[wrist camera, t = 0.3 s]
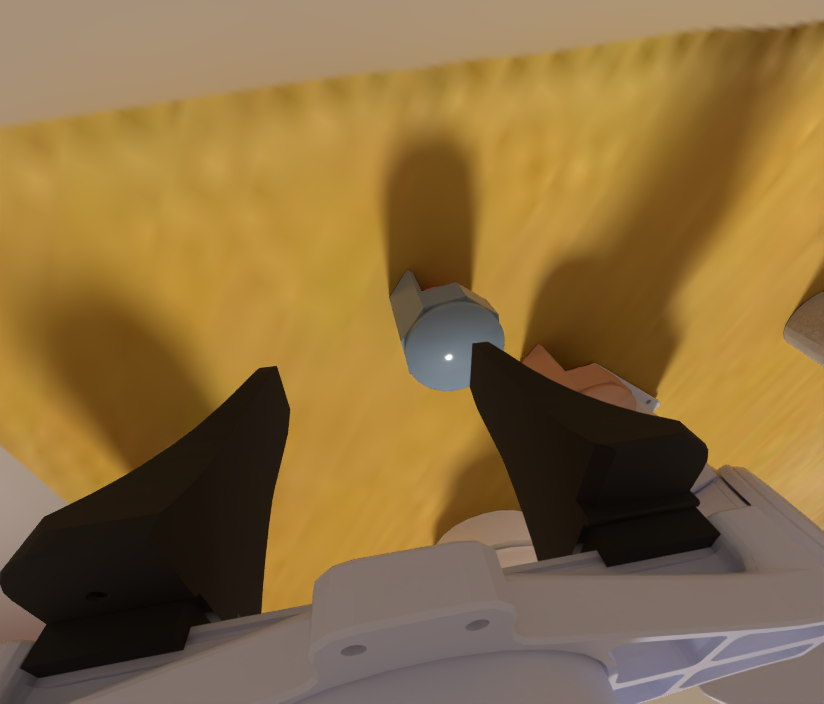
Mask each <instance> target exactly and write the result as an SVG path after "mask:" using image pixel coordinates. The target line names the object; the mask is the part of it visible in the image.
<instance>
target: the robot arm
mask: <svg viewBox="0 0 824 704" xmlns="http://www.w3.org/2000/svg"><path fill="white" fill-rule="evenodd" d="M592 364H594V363H592ZM595 364H596V363H595ZM596 365H598V364H596ZM598 366H600V365H598ZM600 367H601V368H603V367H602V366H600ZM603 369H605V368H603ZM605 370H606V371H608V370H607V369H605ZM608 372H610V371H608ZM610 373H612V372H610ZM612 374H613V373H612ZM613 375H615V374H613ZM615 376H616V377H617V378H618V379H619V380H620V381H621V382H622V383H623V384H625V385H626V386H627V387H628V388H629V389H630V390H631V391H632V395H633V396H634V397H635V399H636V403H637V408H636V411H633V410H630V409H626V408H623V407H619V406H616V405H613V404H610V403H606V402H603V401H601V400H598V399H595V398H592V397H590V396H587V395H584V394H582V393H579V392H577V391H574V390H572V389H570V388H568V387H566V386H563V385H561V384H559V383H557V382H555V381H553V380H551V379H549V378H547V377H545V376H543V375H542V374H540V373H538V372H536V371H534V370H533V369H531V368H529V367H528V366H526V365H524V364H523V363H521V362H520V361H518V360H516V359H515V358H513V357H512V356H510V355H509V354H507V353H506V352H504V351H502V350H501V349H499V348H498V347H496V346H495V345H493V344H491V343H490V342H479V343H472V357H471V373H470V389H471V392H472V395H473V398H474V401H475V404H476V406H477V409H478V411H479V413H480V415H481V417H482V419H483V421H484V423H485V425H486V427H487V429H488V431H489V433H490V435H491V437H492V439H493V441H494V443H495V445H496V447H497V449H498V451H499V453H500V455H501V457H502V459H503V461H504V464H505V466H506V469H507V471H508V474H509V477H510V479H511V482H512V485H513V487H514V490H515V493H516V496H517V499H518V501H519V504H520V507H521V510H522V513H523V516H524V519H525V522H526V525H527V528H528V531H529V534H530V537H531V540H532V544H533V547H534V550H535V554H536V557H537V560H538V561H537V562H532V563H527V564H521V565H516V566H511V567H505V568H501V565H500V563H499V560H498V557H497V554H496V551H495V549H494V548H492V547H490V546H488V545H485V544H483V543H481V542H478V541H454V542H448V543H442V544H437V545H431V546H426V547H420V548H414V549H409V550H403V551H397V552H392V553H386V554H381V555H375V556H369V557H364V558H358V559H353V560H350V561H347V562H344V563H341V564H338V565H335V566H332V567H331V568H330V569H329V570H328V571H326V572H325V573H324V574H323V575H321V576H320V577H319V578H318V579H317V580H316V581H315V584H314V591H313V601H312V604H309V605H304V606H299V607H294V608H288V609H283V610H278V611H272V612H267V613H262V614H261V608H262V592H263V580H264V569H265V557H266V548H267V539H268V529H269V521H270V514H271V506H272V499H273V494H274V489H275V485H276V481H277V477H278V473H279V469H280V465H281V461H282V456H283V452H284V448H285V444H286V440H287V435H288V428H289V417H290V407H289V404H288V401H287V398H286V394H285V391H284V388H283V384H282V381H281V378H280V375H279V371H278V368H277V366H273V367H264V368H259V369H258V370H257V371H255V372H254V373H253V374H252V375H251V376H250V377H249V378H248V379H247V380H246V381H245V382H244V383H243V384H242V385H241V386H240V387H239V388H238V389H237V390H236V391H235V392H234V393H233V394H232V395H231V396H230V397H229V398H228V399H227V400H226V401H225V402H224V403H223V404H222V405H221V406H220V407H219V408H217V409H216V410H215V411H214V412H213V413H212V414H211V415H210V416H208V417H207V418H206V419H205V420H204V421H203V422H202V423H201V424H199V425H198V426H197V427H196V428H194V429H193V430H192V431H191V432H189V433H188V434H187V435H185V436H184V437H183V438H181V439H180V440H179V441H177V442H176V443H175V444H173V445H172V446H170V447H169V448H167V449H166V450H164V451H163V452H161V453H160V454H158V455H157V456H155V457H154V458H152V459H151V460H149V461H148V462H146V463H145V464H143V465H142V466H140V467H138V468H137V469H135V470H133V471H132V472H130V473H128V474H126V475H125V476H123V477H121V478H120V479H118V480H116V481H114V482H112V483H110V484H109V485H107V486H105V487H103V488H101V489H99V490H98V491H96V492H94V493H92V494H90V495H88V496H86V497H84V498H82V499H80V500H78V501H76V502H74V503H72V504H70V505H68V506H66V507H64V508H62V509H60V510H58V511H55V512H53V513H51V514H49V515H47V516H45V517H44V518H43V519H42V520H41V521H40V523H39V524H38V525H37V526H36V528H35V529H34V530H33V531H32V533H31V534H30V535H29V536H28V538H27V539H26V540H25V541H24V543H23V544H22V545H21V547H20V548H19V549H18V550H17V551H16V553H15V554H14V555H13V557H12V558H11V559H10V560H9V562H8V563H7V564H6V565H5V567H4V568H3V569H2V570H1V572H0V585H1V588H2V591H3V593H4V594H5V595H7V596H8V597H9V598H10V599H11V600H12V601H13V602H15V603H16V604H18V605H19V606H21V607H22V608H24V609H25V610H27V611H28V612H29V613H31V614H32V615H34V616H35V617H37V618H38V619H40V620H41V621H43V622H44V623H45V624H47V625H46V626H45V628H44V629H43V631H42V633H41V634H40V636H39V638H38V639H37V641H36V642H34V641H30V640H14V641H8V642H3V643H0V704H641V703H644V702H647V701H651V700H654V699H657V698H660V697H663V696H666V695H669V694H672V693H676V692H679V691H682V690H685V689H688V688H691V687H694V686H698V687H699V688H700V690H701V691H702V692H703V693H704V694H705V695H706V696H708V697H709V698H711V699H713V700H715V701H717V702H719V703H722V704H824V531H823V530H822V529H821V528H819V527H818V526H817V525H816V524H815V523H814V522H812V521H811V520H810V519H809V518H808V517H806V516H805V515H804V514H803V513H802V512H800V511H799V510H798V509H797V508H796V507H794V506H793V505H792V504H791V503H789V502H788V501H787V500H786V499H785V498H783V497H782V496H781V495H780V494H778V493H777V492H776V491H775V490H773V489H772V488H771V487H770V486H768V485H767V484H766V483H765V482H763V481H762V480H761V479H759V478H758V477H757V476H755V475H754V474H753V473H751V472H750V471H749V470H747V469H746V468H743V467H732V466H730V465H724V466H722V467H721V468H719V469H718V470H716V469H715V468H713V467H711V466H710V465H709V464H708V463H707V459H708V449H707V446H706V444H705V443H704V442H703V441H702V440H700V439H699V438H698V437H697V436H696V435H695V434H694V433H692V432H691V431H690V430H689V429H688V428H687V427H686V426H685V425H683V424H682V423H681V422H680V421H677V420H672V419H668V418H663V417H659V416H657V415H656V414H655V413H654V412H653V411H654V410H655V409H656V408H657V407H658V406H659V405H660V402H659V401H658V400H657V399H656V398H654V397H652V396H651V395H649V394H647V393H645V392H644V391H642V390H640V389H639V388H637V387H635V386H634V385H632V384H630V383H629V382H627V381H625V380H623V379H622V378H620V377H618V376H617V375H615Z"/></svg>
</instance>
